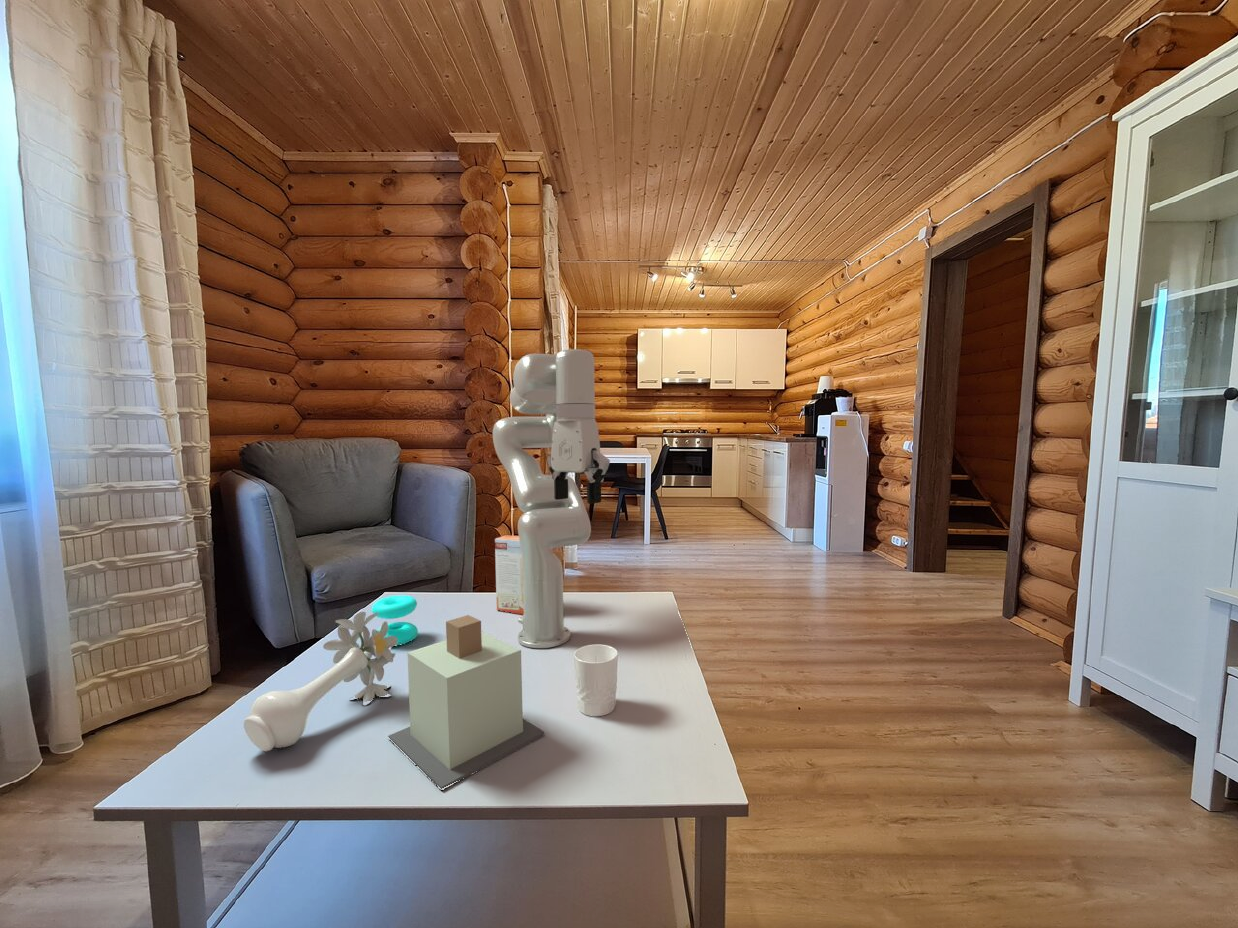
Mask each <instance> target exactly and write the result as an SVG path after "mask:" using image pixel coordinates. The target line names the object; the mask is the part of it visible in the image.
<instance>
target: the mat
mask: <svg viewBox="0 0 1238 928" xmlns="http://www.w3.org/2000/svg"><path fill="white" fill-rule="evenodd" d="M544 736H545V731H544V730H542V729H541V728H539V727H537V726H535V725H534V724H533V723H531V722H530V721H528V720H526V719H525V718H523V732H521V733H519V734H517V735H516V736H514V737H512V738H510V739H508V740H506V741H504V742H502V743H500V744H498V745H496V746H494V747H492V748H491V749H489V750H487V751H485V752H483V753H481V754H479V755H477V756H475V757H473V758H471V759H469V760H468V761H466V762H464V763H462V764H460V765H458V766H456V767H454V768H452V769H449V768H447V767H446V766H445V765H444V764H443V763H442V762H441V761H440V760H438V759H437V758H436V757H435V756H434V755H433V754H432V753H431V752H430V751H428V750H427V749H426V748H425V747H424V746H423V745H422V744H421V743H419V742H418V741H417V740H416V739H415V738H414V737H413V736H412V735H411V732H410V726H407V727H406V728H403V729H401V730H399V731H396V732H394V733H391V734H389V735H388V736H387V738H388V737H389V738H390V739H391V740H392V741H393V742H394V743H395V744H396V745H397V746H398V747H399V748H400V749H401V750H402V751H403V752H404V753H405V754H406V755H407V756H408V757H409V758H410V759H411V760H412V761H413V762H414V763H415V764H416V765H417V766H418V767H419V768H420V769H421V770H422V771H423V772H424V773H425V774H426V775H427V776H428V777H429V778H430V779H431V780H432V781H433V782H434V783H435V784H436V785H438V786H439V787H440V788H441V789H442V788H444V787H446V786H448V785H450V784H452V783H454V782H456V781H459V780H461V779H463V778H465V777H467V776H469V775H471V774H472V773H474V772H476V771H478V772H479V770H480V771H482V770H483V769H485V768H487V767H489V766H490V765H492V764H495V763H496V762H499V761H500V760H502V759H503V758H505V757H507V756H509V755H511V754H513V753H514V752H517V751H519V750H520V749H523V748H525V746H527V745H530V744H531V743H533V742H535V741H537V740H539V739H541V738H542V737H544ZM481 769H482V770H481ZM476 773H477V772H476ZM474 774H475V773H474ZM472 775H473V774H472ZM472 775H471V776H472ZM469 777H470V776H469ZM467 778H468V777H467ZM465 779H466V778H465ZM463 780H464V779H463ZM461 781H462V780H461Z"/></svg>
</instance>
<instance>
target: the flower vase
mask: <svg viewBox="0 0 1238 928" xmlns="http://www.w3.org/2000/svg"><path fill="white" fill-rule="evenodd" d="M378 614H379V613H375V614H373V613H372V614H370V615H369V616H367V613H366V611H360V612H358V613H356V614H355V616H354V617H353V621H352V620H351V619H346V618H343V619H341V618H340V619H337V620H335V623H337V624H339V625H338V626H337V636H338V638H339V639H331V640H328V641H326V642H325V643H324V644H323V645H322V646H323V649H324V650H326V651H333V652H334V651H336V652H335V654H334V655H333V660H332V662H333V664H334V666H332V667H331V668H330V669H328V670H327V671H324V673H322V674H321V675H320V676H318V677H316V678H315V679H314V680H312V681H310V682H309V683H307V684H306V685H303V686H301V687H298V688H295V689H292V690H272V691H268V692H266V693H264V694H261V695H260V696H258V697H257V698H256V699H255V700H254V702H253V704H252V706H251V708H250V710H249V711H250V712H249V716H247V717H246V718H245V719H244V721H243V729H244V732H245V734H246V736H247V737H248V739H249V740H250V742H251V743H252V744H253V745H254V746H255V747H256V748H257V749H259V750H261V751H263V752H268V751H271V750H273V748H277V749H283V748H287V747H290V746H294V744H296V743H297V741H299V739H300V738H301V737H302V736H303V734H304V732H305V730H306V726H307V722H308V718H309V716H310V713H311V712H312V710H313V708H315V706H316V704H317V703H318V702H319V701H320V700H321V699H323V697H324V696H326V695H327V694H328V693H329V692H330V691H331V690H333V689H335V688H336V686H337V685H339V684H340V683H341V682H342V681H343V682H344V683H349V682H351V681H353V680H355V679H356V678H357V677H359V678H360V681H361V682H362V684H363V685H364V686H365V687H364V688H362V690H360V691H359V692H358V693H356V694H354V696H355V698H359V699H361V698H362V699H363V701H364V702H367V701H371V700H372V699H373V698H374V699H375V697H378V696H379V697H378V698H380V696H385V695H387V694H388V693H389V692H388V691H386V690H387V689H386V688H387V686H386V685H387V684H385V685H384V684H378V683H376V682H375V683H374V679H375V678H376V680H377V681H378V682H381V681H382V679H383V678H384V675H385V669H384V666H385V665H387V664H389V663H393V662H394V658H395V657H396V653H395V652H392V651H391V649H392V648H393V646H395V645H396V644H397V643H398V639H397V638H396V637H395V636H388V637H385V636H386V635H387V632H388V624H389V623H388V622H387V621H384V622H383V623H382V624H381V626H380V628H381V629H380V630H378V629H377V630H378V631H377V630H376V629H372V630H371V634H370V631H369V629H368V627H367V626H366V625H367V624H368V623H370V621H372V619H374V618H375V617H377V615H378ZM350 630H352V632H350ZM384 637H385V638H384ZM358 639H360V643H361V644H360V645H359V643H358V642H357V641H358ZM372 657H375V658H372ZM384 689H385V690H384ZM375 695H376V696H375ZM374 699H373V700H374ZM282 747H283V748H282Z"/></svg>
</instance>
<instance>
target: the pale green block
mask: <svg viewBox="0 0 1238 928" xmlns="http://www.w3.org/2000/svg"><path fill="white" fill-rule="evenodd" d="M445 630H446V631H445V633H446V635H445V637H446V639H445V640H442V641H438V642H436V643H433V644H430V645H427V646H424V647H420V648H418V649H414V650H412V651H411V650H410V651H407V671H408V672H407V673H408V675H407V676H408V698H409V701H408V702H409V703H408V704H409V727H410V732H411V735H412V736H413V737H414V738H415V739H416V740H417V741H418V742H419V743H421V744H422V745H423V746H424V747H425V748H426V749H427V750H428V751H430V752H431V753H432V754H433V755H434V756H435V757H436V758H437V759H438V760H440V761H441V762H442V763H443V764H444V765H445V766H446V767H447V768H449V769H452V768H454V767H456V766H458V765H460V764H462V763H464V762H466V761H468V760H469V759H471V758H473V757H475V756H477V755H479V754H481V753H483V752H485V751H487V750H489V749H491V748H492V747H494V746H496V745H498V744H500V743H502V742H504V741H506V740H508V739H510V738H512V737H514V736H516V735H517V734H519V733H521V732H523V719H524V717H523V713H524V712H523V684H522V683H523V680H522V679H523V677H522V676H523V675H522V673H523V672H522V650H521V649H520V648H518V647H516V646H514V645H511V644H509V643H508V642H505V641H503V640H501V639H499V638H497V637H494V636H492V635H491V634H488V633H486V632H484V631H482V620H480V619H478V618H475V617H473V616H471V615H469V614H467V615H463V616H459V617H458V618H454V619H450V620H447V621H445Z"/></svg>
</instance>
